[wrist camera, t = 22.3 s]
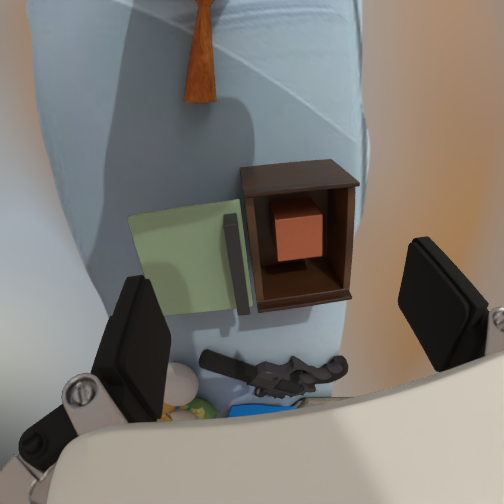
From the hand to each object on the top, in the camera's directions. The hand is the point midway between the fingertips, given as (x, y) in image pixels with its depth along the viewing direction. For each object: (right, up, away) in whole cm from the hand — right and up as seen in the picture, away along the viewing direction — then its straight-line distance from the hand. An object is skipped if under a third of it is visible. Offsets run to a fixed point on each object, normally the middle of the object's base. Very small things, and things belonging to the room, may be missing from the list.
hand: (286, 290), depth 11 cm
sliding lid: (-7, 0, +20) cm, 22 cm away
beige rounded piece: (-11, -18, +36) cm, 41 cm away
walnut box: (+3, +6, +27) cm, 28 cm away
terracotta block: (+3, +5, +27) cm, 27 cm away
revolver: (+7, -13, +37) cm, 39 cm away
